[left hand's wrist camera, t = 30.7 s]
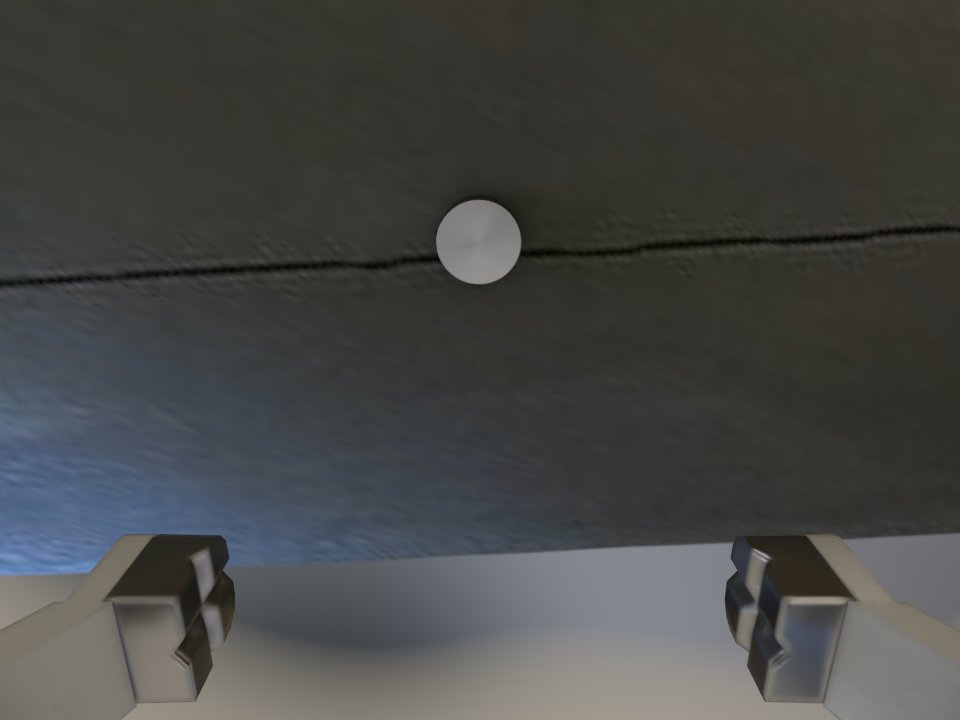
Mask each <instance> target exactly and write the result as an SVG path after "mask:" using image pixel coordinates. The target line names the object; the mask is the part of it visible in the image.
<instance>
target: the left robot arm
mask: <svg viewBox="0 0 960 720" xmlns="http://www.w3.org/2000/svg"><path fill="white" fill-rule="evenodd" d="M228 560H229V554H228V549H227V544H226V540H225V539H224V538H223V537H221V536H220V535H174V534H159V535H156V534H128V535H125V536H122V537H120V538H119V539H118V540H117V541H116V543H115V544H114V545H113V546H112V547H111V548H110V550H109V551H108V552H107V553H106V554H105V555H104V557H103V558H102V559H101V560H100V561H99V562H98V564H97V565H96V566H95V567H94V568H93V569H92V571H91V572H90V573H89V574H88V575H87V576H86V578H85V579H84V580H83V581H82V582H81V583H80V585H79V586H78V587H77V588H76V589H75V590H74V592H73V593H72V594H71V595H70V596H69V597H68V599H67V600H66V601H65V602H53V603H51V604H49V605H47V606H45V607H44V608H42V609H40V610H38V611H36V612H34V613H32V614H30V615H28V616H26V617H24V618H22V619H20V620H18V621H16V622H15V623H13V624H11V625H9V626H7V627H5V628H3V629H1V630H0V720H121V719H123V718H124V717H125V716H126V715H127V714H128V713H130V712H131V711H132V710H133V709H134V708H135V707H136V703H167V702H195V701H196V699H197V697H198V695H199V693H200V691H201V689H202V687H203V685H204V683H205V681H206V679H207V677H208V675H209V673H210V671H211V669H212V667H213V663H212V657H211V652H212V651H213V650H215V649H216V648H218V647H219V646H220V645H222V644H223V643H224V642H225V640H226V637H227V635H228V633H229V631H230V629H231V624H232V620H233V615H234V610H235V592H234V585H233V581H232V580H231V579H230V578H229V577H228V576H227V575H226V574H225V573H224V572H223V571H222V570H223V569H224V567H225V565H226V563H227V561H228ZM731 560H732V561H733V563H734V565H735V567H736V569H737V570H738V571H737V572H736V573H735V574H734V575H733V576H732V577H731V578H730V579H729V580H728V581H727V585H726V593H725V607H726V617H727V621H728V624H729V628H730V631H731V633H732V635H733V637H734V639H735V642H736V643H737V644H738V645H740V646H741V647H742V648H744V649H745V650H747V651H748V652H749V657H748V663H747V667H748V669H749V671H750V673H751V675H752V677H753V679H754V681H755V683H756V685H757V687H758V689H759V691H760V693H761V695H762V697H763V699H764V701H765V702H793V703H824V705H823V706H824V707H825V708H826V709H827V710H828V711H830V712H831V713H832V714H833V715H834V716H835V717H837V718H838V719H839V720H960V630H959V629H957V628H955V627H953V626H951V625H949V624H947V623H945V622H943V621H941V620H940V619H938V618H936V617H934V616H932V615H930V614H928V613H926V612H924V611H922V610H920V609H918V608H916V607H915V606H913V605H911V604H909V603H907V602H895V601H894V600H893V599H892V598H891V596H890V595H889V594H888V593H887V592H886V590H885V589H884V588H883V587H882V586H881V585H880V583H879V582H878V581H877V580H876V579H875V578H874V576H873V575H872V574H871V573H870V572H869V571H868V569H867V568H866V567H865V566H864V565H863V564H862V562H861V561H860V560H859V559H858V558H857V557H856V556H855V554H854V553H853V552H852V551H851V550H850V549H849V547H848V546H847V545H846V544H845V543H844V542H843V540H842V539H841V538H840V537H838V536H836V535H834V534H806V535H799V536H737V537H736V539H735V542H734V544H733V548H732V553H731Z"/></svg>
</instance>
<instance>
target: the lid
mask: <svg viewBox="0 0 960 720" xmlns="http://www.w3.org/2000/svg"><path fill="white" fill-rule="evenodd" d="M436 246H437V252H438V255H439V258H440V260H441V262H442V264H443V266H444V267H445V268H446V270H447V271H448V272H449V273H450V274H452V275H453V276H454V277H456V278H457V279H459V280H461V281H463V282H466V283H470V284H488V283H492V282H494V281H497V280H499V279H501V278H502V277H504V276H505V275H506V274H507V273H508V272H510V270H511V269H512V268H513V267H514V265H515V264H516V262H517V260H518V258H519V255H520V251H521V233H520V229H519V226H518V223H517V221H516V219H515V217H514V215H513V213H512V212H511V211H510V210H509V209H508V207H506V206H505V205H504V204H503V203H501V202H500V201H498V200H496V199H494V198H490V197H486V196H471V197H467V198H464V199H462V200H460V201H458V202H456V203H455V204H454V205H452V206H451V207H450V208H449V209H448V211H447V212H446V213H445V215H444V216H443V218H442V220H441V223H440V226H439V228H438V232H437V238H436Z"/></svg>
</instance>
